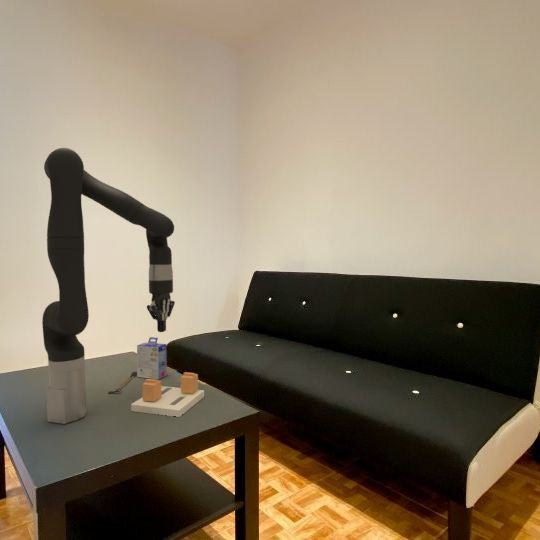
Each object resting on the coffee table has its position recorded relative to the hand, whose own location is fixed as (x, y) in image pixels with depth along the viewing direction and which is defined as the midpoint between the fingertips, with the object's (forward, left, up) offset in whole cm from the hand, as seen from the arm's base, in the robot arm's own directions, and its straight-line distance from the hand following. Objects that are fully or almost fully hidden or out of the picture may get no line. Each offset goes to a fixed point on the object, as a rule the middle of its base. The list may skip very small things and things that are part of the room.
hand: (161, 331), depth 127 cm
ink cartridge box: (+15, +14, -21) cm, 29 cm away
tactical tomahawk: (+6, +18, -22) cm, 29 cm away
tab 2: (0, -10, -19) cm, 21 cm away
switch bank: (-6, -6, -21) cm, 23 cm away
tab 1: (-9, -2, -19) cm, 21 cm away
